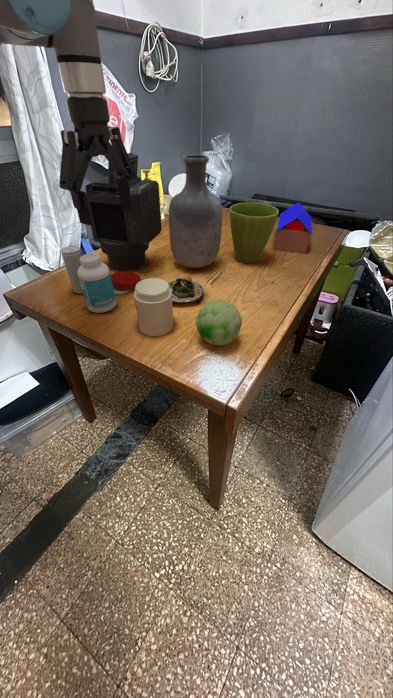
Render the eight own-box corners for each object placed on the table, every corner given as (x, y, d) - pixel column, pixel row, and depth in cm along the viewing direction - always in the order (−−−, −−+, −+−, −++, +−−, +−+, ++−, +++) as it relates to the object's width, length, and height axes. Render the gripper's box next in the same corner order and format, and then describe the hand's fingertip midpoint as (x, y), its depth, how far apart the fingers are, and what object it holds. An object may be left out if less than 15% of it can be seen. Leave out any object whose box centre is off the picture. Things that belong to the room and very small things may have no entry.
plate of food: (152, 296, 80) (149, 271, 75) (181, 281, 86) (181, 257, 81) (183, 313, 74) (183, 287, 69) (212, 295, 80) (213, 270, 75)
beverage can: (78, 296, 79) (65, 254, 71) (70, 290, 82) (57, 249, 74) (94, 290, 82) (83, 249, 74) (86, 284, 84) (75, 244, 76)
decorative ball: (237, 328, 69) (242, 291, 63) (239, 356, 62) (245, 318, 55) (197, 326, 70) (197, 290, 63) (194, 353, 62) (194, 316, 55)
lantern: (118, 251, 102) (100, 149, 82) (164, 257, 98) (158, 153, 78) (95, 269, 91) (68, 157, 71) (147, 277, 88) (134, 162, 68)
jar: (146, 340, 65) (141, 299, 58) (133, 321, 71) (127, 282, 64) (179, 329, 69) (177, 289, 61) (164, 312, 74) (161, 273, 67)
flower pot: (248, 246, 106) (254, 199, 96) (278, 260, 98) (289, 211, 87) (217, 256, 100) (220, 207, 89) (246, 272, 91) (254, 220, 80)
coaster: (109, 297, 79) (109, 295, 78) (101, 284, 84) (100, 282, 84) (138, 290, 82) (137, 288, 82) (128, 278, 87) (128, 276, 87)
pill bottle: (122, 302, 77) (112, 254, 68) (104, 317, 72) (92, 266, 63) (100, 296, 79) (88, 248, 70) (81, 310, 74) (66, 260, 65)
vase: (207, 251, 103) (210, 150, 83) (227, 270, 92) (237, 159, 72) (164, 258, 98) (157, 153, 78) (180, 278, 87) (177, 163, 67)
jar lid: (145, 282, 86) (145, 275, 85) (130, 293, 79) (130, 286, 78) (120, 275, 88) (120, 268, 86) (104, 285, 81) (103, 278, 80)
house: (273, 249, 105) (279, 215, 97) (276, 230, 119) (282, 200, 112) (306, 253, 103) (316, 219, 95) (306, 233, 117) (314, 203, 109)
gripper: (116, 96, 63) (129, 201, 77) (12, 94, 47) (53, 227, 61) (143, 97, 60) (151, 205, 75) (42, 95, 44) (78, 234, 58)
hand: (107, 215), depth 68 cm, fingers open, 13 cm apart
